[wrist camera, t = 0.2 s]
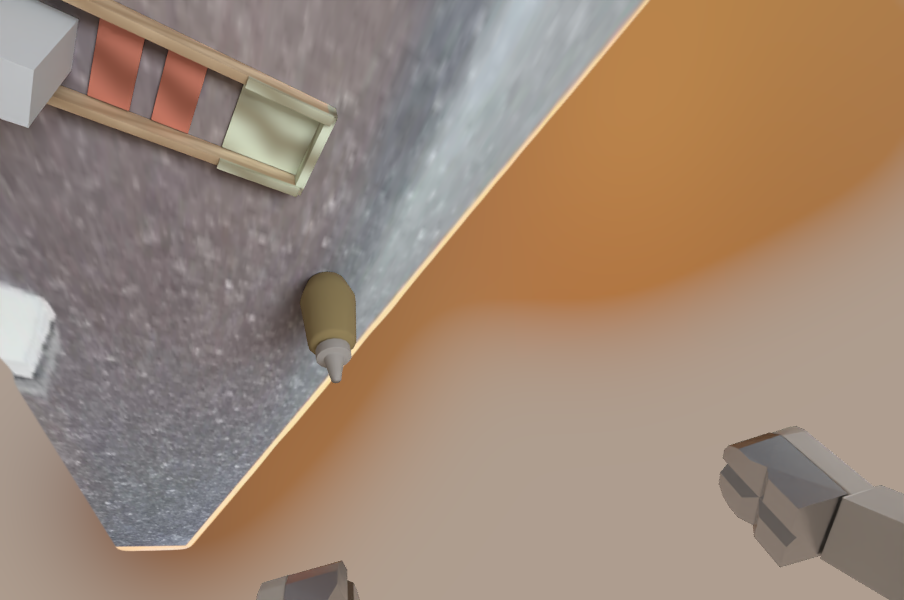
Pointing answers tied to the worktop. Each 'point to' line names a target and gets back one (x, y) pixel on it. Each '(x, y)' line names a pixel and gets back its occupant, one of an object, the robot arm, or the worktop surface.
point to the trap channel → (254, 119)
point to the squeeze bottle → (329, 321)
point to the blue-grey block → (32, 57)
